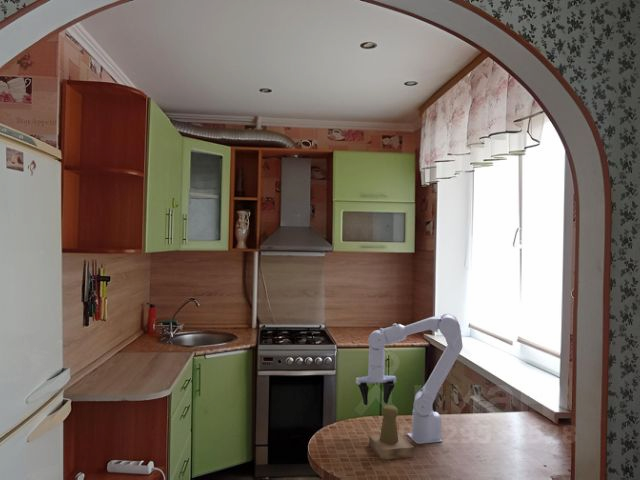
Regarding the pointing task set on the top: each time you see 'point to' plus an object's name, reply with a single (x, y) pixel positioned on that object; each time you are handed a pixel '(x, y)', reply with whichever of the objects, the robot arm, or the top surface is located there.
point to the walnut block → (391, 448)
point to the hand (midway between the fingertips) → (375, 403)
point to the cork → (389, 425)
